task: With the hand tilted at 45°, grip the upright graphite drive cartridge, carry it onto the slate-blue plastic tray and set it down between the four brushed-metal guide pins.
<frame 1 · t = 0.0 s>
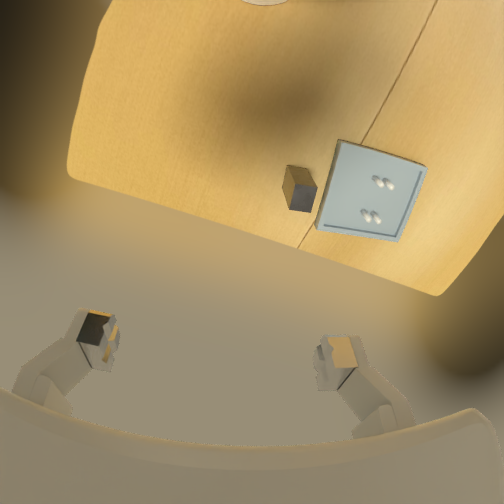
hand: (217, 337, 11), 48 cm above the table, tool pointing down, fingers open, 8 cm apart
drive: (294, 177, 57), on the table
tray: (370, 192, 59), on the table
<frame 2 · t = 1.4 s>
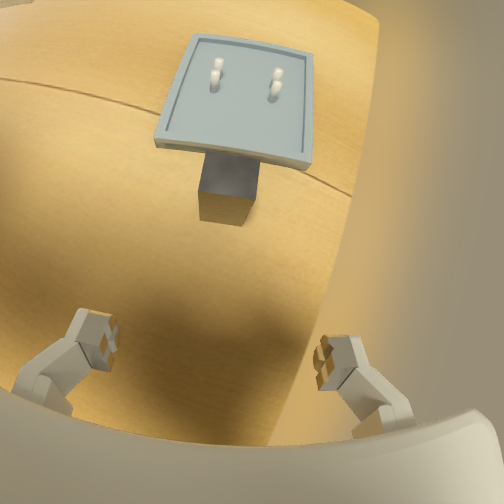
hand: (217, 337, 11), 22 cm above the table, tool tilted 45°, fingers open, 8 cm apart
drive: (223, 207, 34), on the table
tray: (242, 94, 37), on the table
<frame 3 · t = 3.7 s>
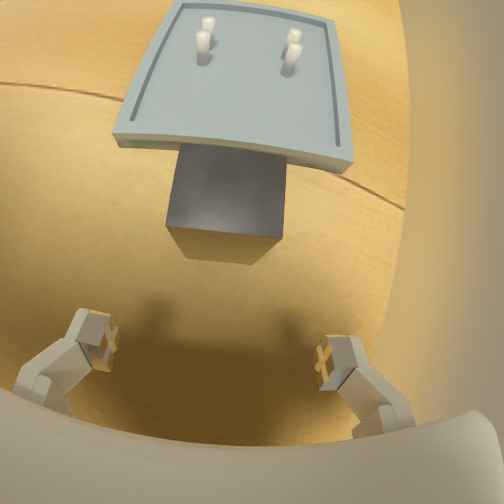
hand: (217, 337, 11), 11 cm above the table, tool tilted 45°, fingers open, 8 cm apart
drive: (221, 235, 22), on the table
tray: (244, 68, 25), on the table
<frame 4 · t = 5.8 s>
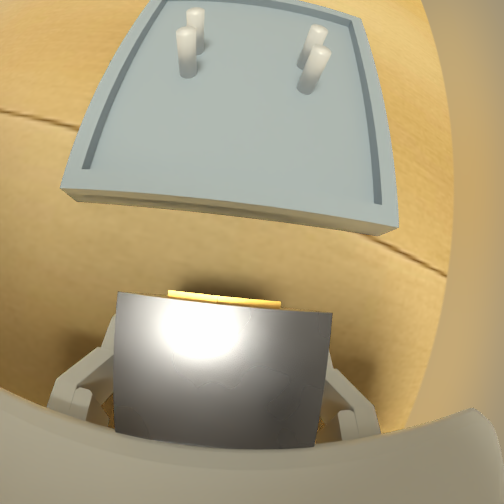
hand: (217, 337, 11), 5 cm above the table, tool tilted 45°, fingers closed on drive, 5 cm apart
drive: (215, 335, 16), on the table, touching gripper
tray: (246, 79, 19), on the table
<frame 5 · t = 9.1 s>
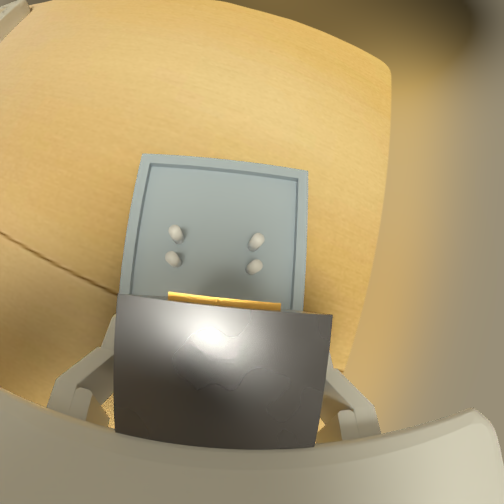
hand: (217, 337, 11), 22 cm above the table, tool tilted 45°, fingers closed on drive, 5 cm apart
drive: (215, 336, 16), point 16 cm above the table, touching gripper
tray: (214, 256, 33), on the table
when the fingers open (8 cm above the table, at t = 12.5 s): drive drops 1 cm, resting on tray.
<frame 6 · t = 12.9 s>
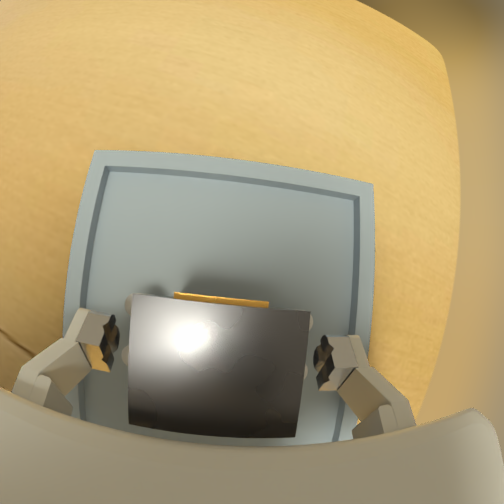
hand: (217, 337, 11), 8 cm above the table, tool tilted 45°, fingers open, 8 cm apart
drive: (215, 332, 17), point 1 cm above the table, touching tray
tray: (215, 329, 19), on the table
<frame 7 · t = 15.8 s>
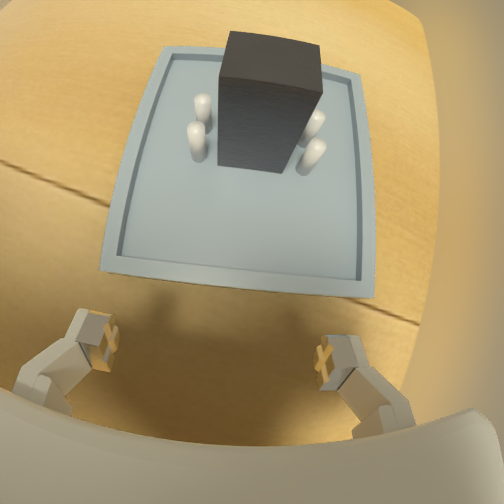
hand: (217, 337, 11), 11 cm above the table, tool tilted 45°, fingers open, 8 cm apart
drive: (252, 147, 22), point 1 cm above the table, touching tray
tray: (251, 156, 23), on the table
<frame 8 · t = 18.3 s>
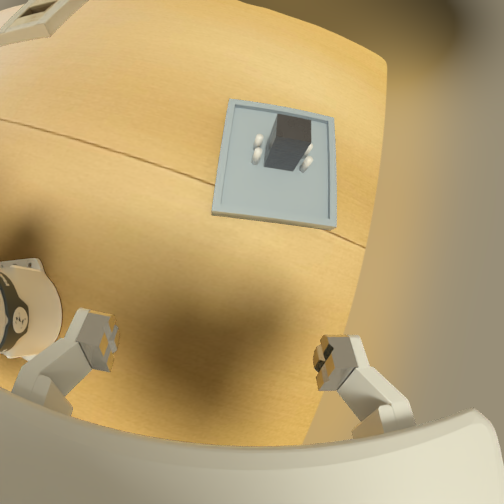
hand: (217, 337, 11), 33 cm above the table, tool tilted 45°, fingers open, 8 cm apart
drive: (279, 158, 47), point 1 cm above the table, touching tray
beige hollow block: (42, 21, 49), on the table
tray: (277, 162, 48), on the table
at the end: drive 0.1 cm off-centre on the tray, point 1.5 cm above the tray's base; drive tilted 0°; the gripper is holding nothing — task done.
